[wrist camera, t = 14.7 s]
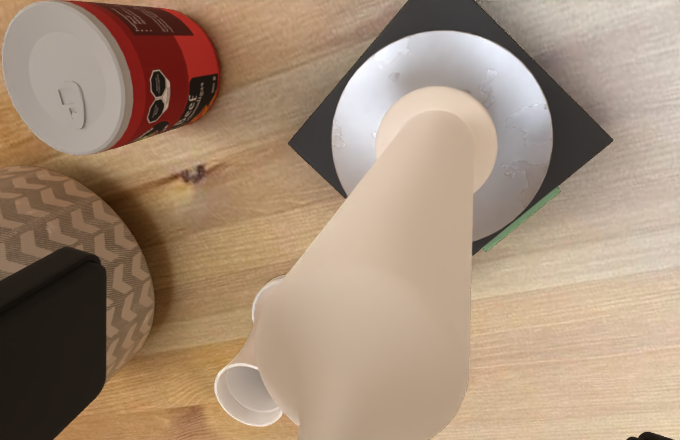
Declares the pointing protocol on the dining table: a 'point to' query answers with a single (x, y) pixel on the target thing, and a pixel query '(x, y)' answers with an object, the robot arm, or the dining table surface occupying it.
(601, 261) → the dining table surface
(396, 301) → the candle
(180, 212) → the dining table surface
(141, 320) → the planter
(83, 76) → the canned food
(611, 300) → the dining table surface
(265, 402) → the vase
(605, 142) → the scale
